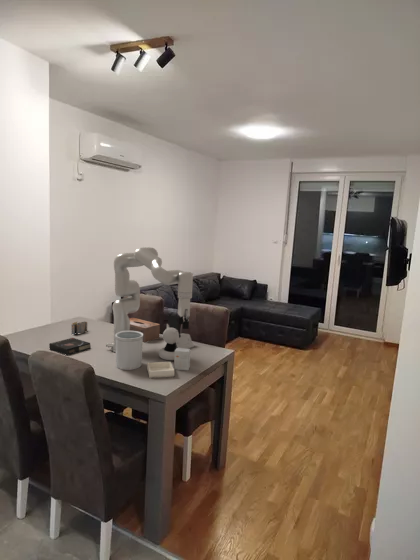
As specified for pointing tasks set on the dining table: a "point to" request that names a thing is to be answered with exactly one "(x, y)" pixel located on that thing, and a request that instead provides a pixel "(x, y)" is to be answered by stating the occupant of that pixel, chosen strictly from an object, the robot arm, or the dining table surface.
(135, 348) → the utensil holder
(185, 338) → the white and black block
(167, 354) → the decorative figurine
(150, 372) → the tray
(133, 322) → the tissue box cover
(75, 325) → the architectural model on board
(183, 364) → the small box
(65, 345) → the flat black printed box
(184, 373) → the dining table surface
